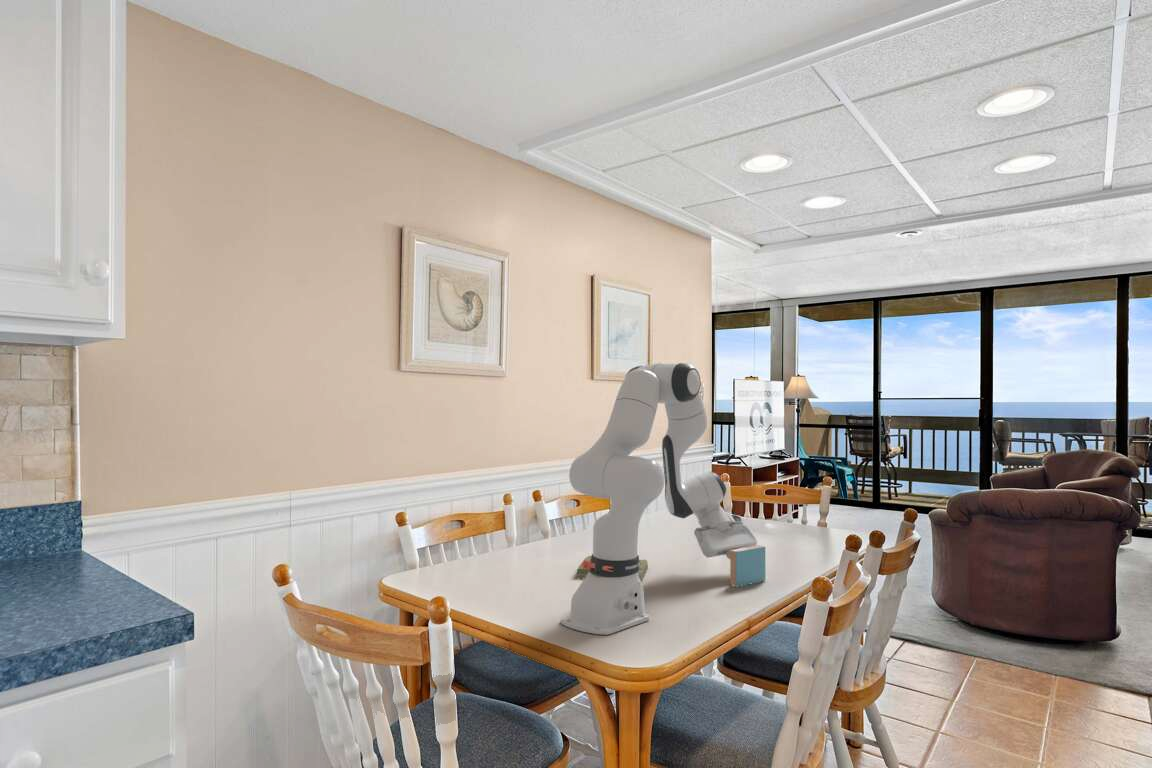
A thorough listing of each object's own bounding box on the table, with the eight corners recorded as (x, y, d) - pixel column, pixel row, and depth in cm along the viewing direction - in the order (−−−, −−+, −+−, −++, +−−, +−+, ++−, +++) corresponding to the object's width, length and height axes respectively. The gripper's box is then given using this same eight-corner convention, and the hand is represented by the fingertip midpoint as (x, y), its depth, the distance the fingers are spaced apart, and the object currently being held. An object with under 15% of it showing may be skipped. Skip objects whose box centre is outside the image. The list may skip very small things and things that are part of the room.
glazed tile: (736, 587, 179) (736, 551, 179) (730, 585, 181) (730, 550, 181) (765, 581, 186) (765, 546, 186) (758, 579, 188) (758, 545, 188)
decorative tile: (585, 565, 204) (585, 554, 204) (648, 569, 200) (648, 557, 200) (573, 581, 186) (573, 569, 186) (641, 586, 182) (641, 573, 182)
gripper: (697, 522, 186) (721, 563, 178) (745, 515, 197) (770, 553, 189) (686, 535, 190) (710, 575, 181) (734, 527, 201) (758, 565, 193)
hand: (741, 564), depth 185 cm, fingers closed
